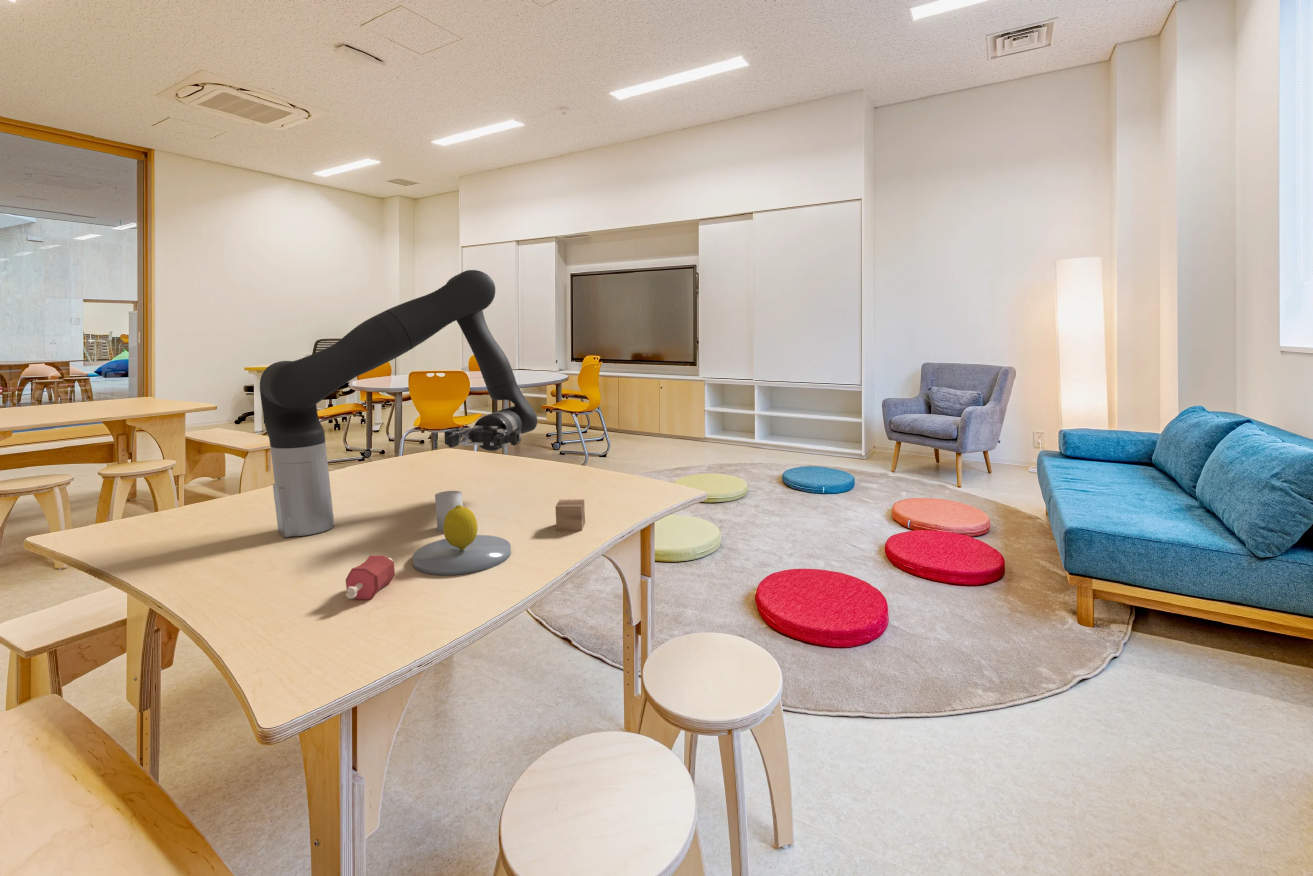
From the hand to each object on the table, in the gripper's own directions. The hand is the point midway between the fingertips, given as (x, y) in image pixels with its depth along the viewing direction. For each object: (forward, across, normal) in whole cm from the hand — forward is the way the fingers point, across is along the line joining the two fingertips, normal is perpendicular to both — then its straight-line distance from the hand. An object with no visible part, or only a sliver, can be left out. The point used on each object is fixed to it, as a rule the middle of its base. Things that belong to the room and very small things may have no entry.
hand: (472, 442), depth 111 cm
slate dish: (+12, +2, +18) cm, 22 cm away
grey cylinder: (-4, -6, +18) cm, 19 cm away
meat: (+26, -8, +19) cm, 33 cm away
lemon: (+12, +1, +17) cm, 21 cm away
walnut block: (-4, +18, +18) cm, 25 cm away
